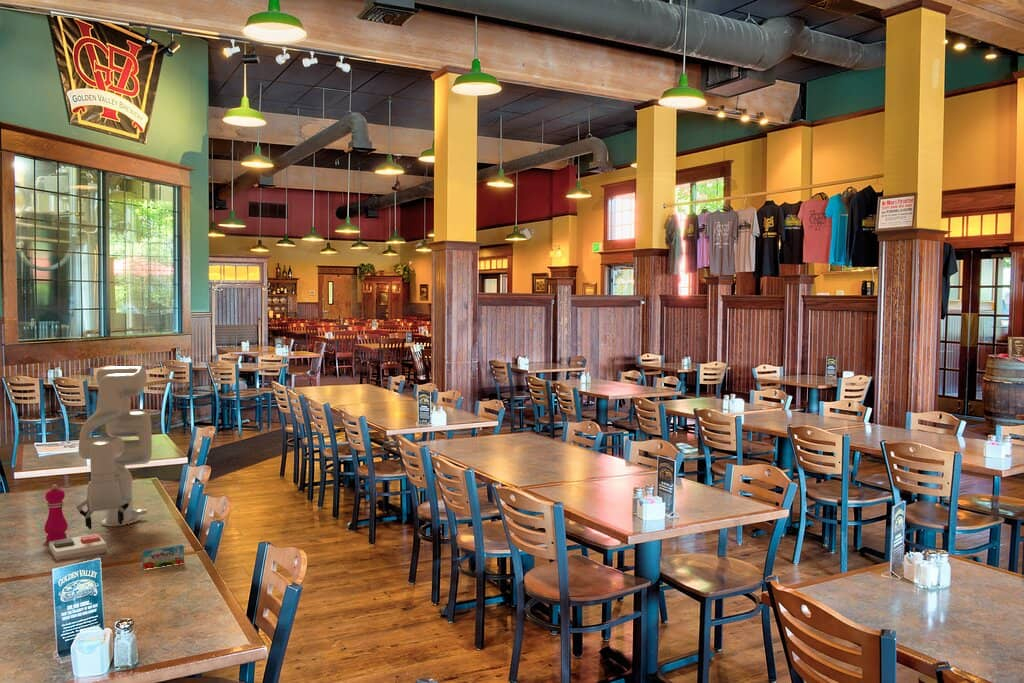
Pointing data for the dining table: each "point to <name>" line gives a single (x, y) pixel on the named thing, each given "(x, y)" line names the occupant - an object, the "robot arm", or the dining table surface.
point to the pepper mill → (55, 515)
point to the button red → (90, 538)
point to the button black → (64, 543)
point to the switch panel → (78, 548)
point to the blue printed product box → (163, 556)
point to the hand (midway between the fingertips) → (104, 525)
